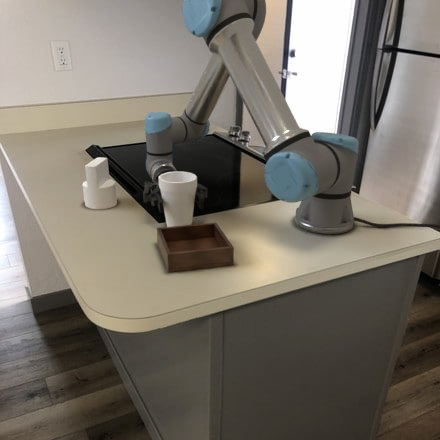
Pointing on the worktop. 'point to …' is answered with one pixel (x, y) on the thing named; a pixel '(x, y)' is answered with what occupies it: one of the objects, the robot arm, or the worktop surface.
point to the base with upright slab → (99, 185)
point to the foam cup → (178, 197)
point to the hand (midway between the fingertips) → (181, 205)
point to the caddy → (194, 247)
